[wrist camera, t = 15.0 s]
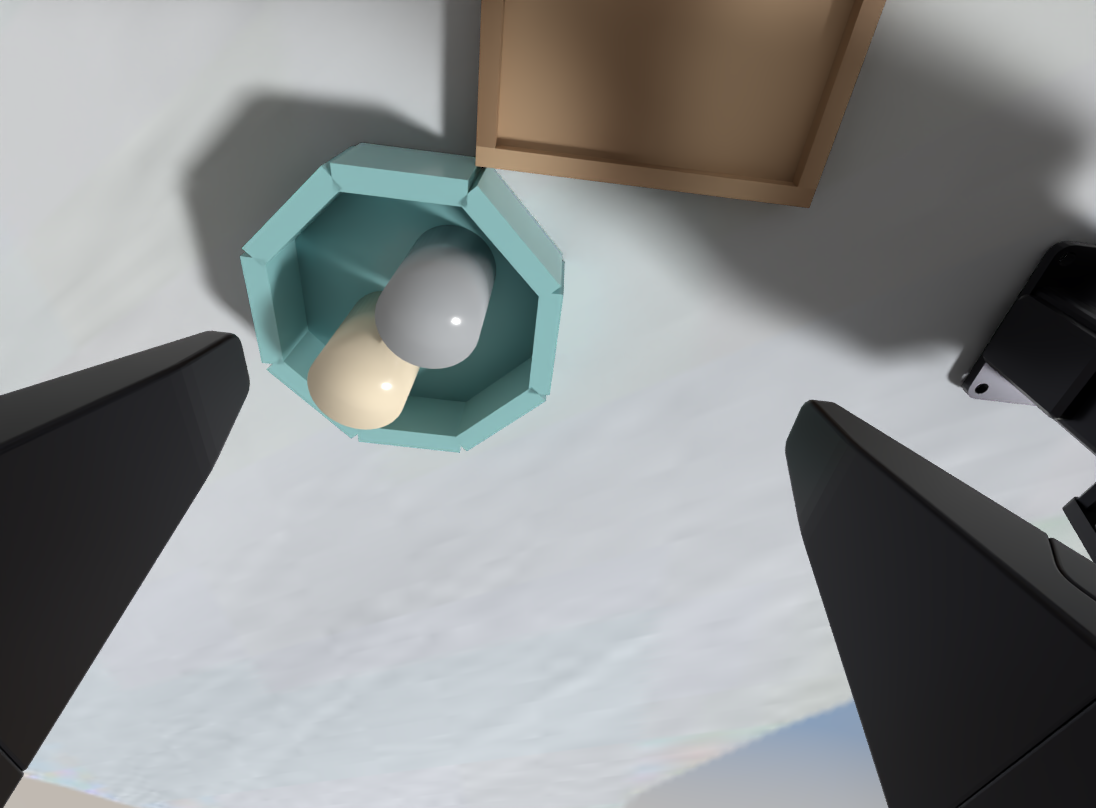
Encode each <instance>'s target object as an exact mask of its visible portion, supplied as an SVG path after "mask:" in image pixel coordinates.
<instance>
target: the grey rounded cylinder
mask: <svg viewBox="0 0 1096 808" xmlns="http://www.w3.org/2000/svg"><path fill="white" fill-rule="evenodd" d="M495 279H496V263H495V259H494V256H493V254H492V251H491V250H490V248H489V246H488V245H487V244H486V242H485V241H484V240H483V239H482V238H481V237H479V236H478V235H477V234H476V233H474V232H472V231H471V230H469V229H466V228H464V227H461V226H456V225H441V226H436V227H433V228H431V229H429V230H427V231H426V232H424V233H423V234H422V235H421V236H420V237H419V238H418V239H417V240H416V242H415V243H414V245H413V246H412V248H411V249H410V251H409V252H408V254H407V255H406V257H405V258H404V260H403V261H402V263H401V264H400V266H399V267H398V269H397V270H396V272H395V273H394V275H393V276H392V278H391V279H390V281H389V282H388V284H387V285H386V287H385V288H384V290H383V291H382V293H381V294H380V296H379V298H378V301H377V303H376V308H375V322H376V326H377V330H378V332H379V335H380V337H381V338H382V340H383V342H384V343H385V344H386V346H387V347H388V348H389V349H390V350H391V351H392V352H393V353H394V354H395V355H396V356H398V357H399V358H401V359H402V360H404V361H406V362H408V363H410V364H412V365H415V366H418V367H422V368H429V369H441V368H447V367H450V366H453V365H456V364H458V363H460V362H461V361H463V360H464V359H466V358H467V357H468V356H469V355H470V354H471V353H472V351H473V350H474V348H475V347H476V345H477V342H478V339H479V336H480V332H481V329H482V325H483V322H484V318H485V315H486V311H487V308H488V304H489V300H490V297H491V293H492V290H493V286H494V283H495Z"/></svg>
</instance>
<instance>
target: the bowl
mask: <svg viewBox="0 0 1096 808" xmlns="http://www.w3.org/2000/svg"><path fill="white" fill-rule="evenodd" d="M475 164H476V157H471V156H463V155H455V154H447V153H440V152H432V151H424V150H416V149H408V148H400V147H392V146H384V145H376V144H369V143H360V144H358V145H357V146H355V147H354V146H351V147H350V148H348V149H346V150H345V151H343V152H342V153H340V154H339V155H337V156H336V157H334V158H332V159H331V160H329V161H328V162H326V163H325V164H323V165H322V166H320V167H319V168H318V169H317V171H316V172H315V173H314V174H313V175H312V176H311V177H310V178H309V179H308V180H307V181H306V182H305V183H304V184H303V185H302V186H301V187H300V188H299V189H298V190H297V191H296V192H295V193H294V194H293V195H292V197H291V198H290V199H289V200H288V201H287V202H286V203H285V204H284V205H283V206H282V207H281V208H280V209H279V210H278V211H277V212H276V213H275V214H274V215H273V216H272V217H271V218H270V219H269V220H268V221H267V222H266V224H265V225H264V226H263V227H262V228H261V229H260V230H259V231H258V232H257V233H256V234H255V235H254V236H253V237H252V238H251V239H250V240H249V241H248V242H247V243H246V244H245V245H244V246H243V247H242V249H243V250H244V251H245V253H243V254H242V255H241V256H240V259H241V264H242V269H243V274H244V279H245V284H246V288H247V293H248V298H249V303H250V308H251V313H252V317H253V322H254V327H255V332H256V337H257V341H258V346H259V351H260V356H261V361H262V363H269V364H271V365H270V366H269V367H268V368H267V370H268V371H269V372H270V373H271V374H272V375H274V376H275V377H276V378H277V379H279V380H280V381H281V382H282V383H284V384H285V385H286V386H287V387H288V388H290V389H291V390H292V391H293V392H295V393H296V394H297V395H298V396H300V397H301V398H302V399H303V400H305V401H306V402H307V403H308V404H309V405H311V406H312V407H313V408H314V409H316V410H317V411H318V412H319V413H321V414H322V415H323V416H324V417H325V418H327V419H328V420H329V421H330V422H332V423H333V424H334V425H335V426H337V427H338V428H339V429H340V430H341V431H343V432H344V433H345V434H346V435H348V436H349V437H350V438H351V439H352V438H353V437H354V436H356V435H357V434H358V439H359V442H367V443H376V444H385V445H394V446H403V447H412V448H422V449H431V450H440V451H449V452H458V453H460V450H461V446H462V447H463V448H464V449H465V450H466V451H468V450H470V449H471V448H473V447H474V446H476V445H478V444H479V443H481V442H482V441H484V440H485V439H487V438H489V437H490V436H492V435H493V434H495V433H496V432H498V431H500V430H501V429H503V428H504V427H506V426H507V425H509V424H511V423H512V422H514V421H515V420H517V419H518V418H520V417H522V416H523V415H525V414H526V413H528V412H529V411H531V410H533V409H534V408H536V407H537V406H539V405H540V404H542V403H543V402H545V401H546V395H550V389H551V381H552V374H553V367H554V359H555V352H556V345H557V338H558V330H559V323H560V316H561V308H562V301H563V291H564V264H565V261H562V253H561V251H560V250H559V249H558V248H557V246H556V245H555V244H554V243H553V241H552V240H551V239H550V238H549V236H548V235H547V234H546V233H545V231H544V230H543V229H542V228H541V226H540V225H539V224H538V223H537V221H536V220H535V219H534V218H533V216H532V215H531V214H530V213H529V211H528V210H527V209H526V208H525V206H524V205H523V204H522V203H521V201H520V200H519V199H518V198H517V196H516V195H515V194H514V193H513V191H512V190H511V189H510V188H509V186H508V185H507V184H506V183H505V181H504V180H503V179H502V178H501V176H500V175H499V174H498V173H497V171H496V170H495V169H494V168H488V167H484V168H483V169H481V167H480V166H475ZM441 225H456V226H461V227H464V228H466V229H469V230H471V231H472V232H474V233H476V234H477V235H478V236H479V237H481V238H482V239H483V240H484V241H485V242H486V244H487V245H488V246H489V248H490V250H491V251H492V254H493V256H494V259H495V263H496V279H495V283H494V286H493V290H492V293H491V297H490V300H489V304H488V308H487V311H486V315H485V318H484V322H483V325H482V329H481V332H480V336H479V339H478V342H477V345H476V347H475V348H474V350H473V351H472V353H471V354H470V355H469V356H468V357H467V358H466V359H464V360H463V361H461V362H460V363H458V364H456V365H453V366H450V367H447V368H441V369H429V368H422V367H420V368H419V371H418V373H417V376H416V378H415V380H414V383H413V385H412V388H411V390H410V393H409V395H408V397H407V400H406V402H405V405H404V407H403V410H402V412H401V413H400V415H399V416H398V417H397V418H396V419H395V420H394V421H393V422H391V423H390V424H388V425H386V426H384V427H381V428H377V429H367V430H364V429H355V428H351V427H347V426H344V425H342V424H340V423H338V422H336V421H334V420H332V419H331V418H329V417H328V416H327V415H325V414H324V413H323V412H322V411H321V410H320V409H319V408H318V407H317V405H316V404H315V403H314V401H313V399H312V397H311V395H310V393H309V390H308V385H307V377H308V372H309V369H310V367H311V365H312V364H313V362H314V361H315V359H316V358H317V357H318V355H319V354H320V353H321V351H322V350H323V348H324V347H325V346H326V344H327V343H328V341H329V340H330V339H331V337H332V336H333V335H334V333H335V332H336V330H337V329H338V328H339V326H340V325H341V323H342V322H343V321H344V319H345V318H346V317H347V315H348V314H349V312H350V311H351V310H352V308H353V307H354V305H355V304H356V303H357V302H358V301H359V300H360V299H361V298H362V297H364V296H365V295H367V294H369V293H372V292H377V291H383V290H384V288H385V287H386V285H387V284H388V282H389V281H390V279H391V278H392V276H393V275H394V273H395V272H396V270H397V269H398V267H399V266H400V264H401V263H402V261H403V260H404V258H405V257H406V255H407V254H408V252H409V251H410V249H411V248H412V246H413V245H414V243H415V242H416V240H417V239H418V238H419V237H420V236H421V235H422V234H423V233H424V232H426V231H427V230H429V229H431V228H433V227H436V226H441Z"/></svg>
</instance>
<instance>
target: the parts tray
mask: <svg viewBox="0 0 1096 808" xmlns="http://www.w3.org/2000/svg"><path fill="white" fill-rule="evenodd" d="M885 2H886V0H481V25H480V53H479V81H478V109H477V136H476V164H475V166H480V167H488V168H496V169H504V170H512V171H520V172H528V173H535V174H543V175H551V176H559V177H567V178H575V179H583V180H591V181H599V182H607V183H615V184H623V185H630V186H638V187H646V188H654V189H662V190H670V191H678V192H686V193H694V194H702V195H710V196H718V197H725V198H733V199H741V200H749V201H757V202H765V203H773V204H781V205H789V206H797V207H805V208H809V207H810V205H811V202H812V199H813V196H814V194H815V191H816V188H817V186H818V183H819V180H820V178H821V175H822V172H823V169H824V167H825V164H826V161H827V159H828V156H829V153H830V151H831V148H832V145H833V142H834V140H835V137H836V134H837V132H838V129H839V126H840V124H841V121H842V118H843V115H844V113H845V110H846V107H847V105H848V102H849V99H850V97H851V94H852V91H853V88H854V86H855V83H856V80H857V78H858V75H859V72H860V70H861V67H862V64H863V61H864V59H865V56H866V53H867V51H868V48H869V45H870V43H871V40H872V37H873V34H874V32H875V29H876V26H877V24H878V21H879V18H880V16H881V13H882V10H883V7H884V5H885Z"/></svg>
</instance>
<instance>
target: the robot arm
mask: <svg viewBox="0 0 1096 808" xmlns="http://www.w3.org/2000/svg"><path fill="white" fill-rule="evenodd" d="M1066 253H1067V256H1066V257H1065V258H1064V259H1063V260H1061V261H1059V260H1060V258H1061V257H1062V256H1063V255H1064V254H1066ZM980 384H982V385H981V386H980V387H978V388H976V387H977V386H978V385H980ZM249 386H250V380H249V374H248V370H247V366H246V361H245V357H244V352H243V348H242V344H241V341H240V339H239V338H238V337H237V336H236V335H235V334H232V333H226V332H217V331H206V332H202V333H199V334H196V335H193V336H189V337H186V338H183V339H180V340H177V341H173V342H170V343H167V344H164V345H161V346H157V347H154V348H151V349H148V350H145V351H141V352H138V353H135V354H132V355H129V356H125V357H122V358H119V359H116V360H113V361H109V362H106V363H103V364H100V365H97V366H93V367H90V368H87V369H84V370H81V371H77V372H74V373H71V374H68V375H64V376H61V377H58V378H55V379H52V380H48V381H45V382H42V383H39V384H36V385H32V386H29V387H26V388H23V389H20V390H16V391H13V392H10V393H7V394H4V395H0V808H3V807H4V806H5V804H6V802H7V801H8V799H9V798H10V796H11V794H12V793H13V791H14V790H15V788H16V786H17V785H18V783H19V781H20V780H21V778H22V777H23V775H24V773H23V771H24V770H26V769H27V768H28V766H29V765H30V763H31V761H32V760H33V758H34V756H35V755H36V753H37V752H38V750H39V748H40V747H41V745H42V744H43V742H44V740H45V739H46V737H47V736H48V734H49V732H50V731H51V729H52V727H53V726H54V724H55V723H56V721H57V719H58V718H59V716H60V715H61V713H62V711H63V710H64V708H65V707H66V705H67V703H68V702H69V700H70V698H71V697H72V695H73V694H74V692H75V690H76V689H77V687H78V686H79V684H80V682H81V681H82V679H83V678H84V676H85V674H86V673H87V671H88V670H89V668H90V666H91V665H92V663H93V661H94V660H95V658H96V657H97V655H98V653H99V652H100V650H101V649H102V647H103V645H104V644H105V642H106V641H107V639H108V637H109V636H110V634H111V632H112V631H113V629H114V628H115V626H116V624H117V623H118V621H119V620H120V618H121V616H122V615H123V613H124V612H125V610H126V608H127V607H128V605H129V603H130V602H131V600H132V599H133V597H134V595H135V594H136V592H137V591H138V589H139V587H140V586H141V584H142V583H143V581H144V579H145V578H146V576H147V575H148V573H149V571H150V570H151V568H152V566H153V565H154V563H155V562H156V560H157V558H158V557H159V555H160V554H161V552H162V550H163V549H164V547H165V546H166V544H167V542H168V541H169V539H170V537H171V536H172V534H173V533H174V531H175V529H176V528H177V526H178V525H179V523H180V521H181V520H182V518H183V517H184V515H185V513H186V512H187V510H188V508H189V507H190V505H191V504H192V502H193V500H194V499H195V497H196V496H197V494H198V492H199V491H200V489H201V488H202V486H203V484H204V483H205V481H206V479H207V478H208V476H209V474H210V472H211V471H212V469H213V467H214V465H215V463H216V461H217V459H218V457H219V455H220V453H221V451H222V448H223V446H224V444H225V442H226V440H227V438H228V435H229V433H230V431H231V429H232V427H233V425H234V423H235V420H236V418H237V416H238V414H239V412H240V410H241V407H242V405H243V403H244V401H245V399H246V397H247V394H248V391H249ZM963 390H964V391H965V392H966V393H967V394H968V395H969V396H970V397H971V398H974V399H982V400H990V401H999V402H1008V403H1016V404H1025V405H1033V406H1037V407H1038V408H1039V409H1041V410H1042V411H1043V412H1044V413H1045V414H1046V415H1048V416H1049V417H1050V418H1052V419H1054V420H1055V421H1056V422H1057V423H1059V424H1060V425H1061V426H1062V427H1063V428H1064V429H1065V430H1067V431H1068V432H1069V433H1070V434H1071V435H1072V436H1073V437H1075V438H1076V439H1077V440H1078V441H1079V442H1080V443H1082V444H1083V445H1084V446H1085V447H1086V448H1087V449H1088V450H1090V451H1091V452H1092V453H1093V454H1094V455H1095V456H1096V245H1095V244H1087V243H1079V242H1071V241H1064V242H1060V243H1057V244H1055V245H1054V246H1053V247H1051V248H1050V249H1049V250H1048V251H1047V253H1046V254H1045V255H1044V257H1043V259H1042V260H1041V262H1040V263H1039V265H1038V266H1037V268H1036V270H1035V271H1034V273H1033V274H1032V276H1031V278H1030V279H1029V281H1028V282H1027V284H1026V285H1025V287H1024V289H1023V290H1022V292H1021V293H1020V295H1019V296H1018V298H1017V300H1016V301H1015V303H1014V304H1013V306H1012V307H1011V309H1010V311H1009V312H1008V314H1007V315H1006V317H1005V318H1004V320H1003V322H1002V323H1001V325H1000V326H999V328H998V329H997V331H996V333H995V334H994V336H993V337H992V339H991V341H990V342H989V344H988V345H987V347H986V348H985V350H984V352H983V353H982V355H981V356H980V358H979V359H978V361H977V363H976V364H975V366H974V367H973V369H972V370H971V372H970V374H969V375H968V377H967V378H966V380H965V381H964V384H963ZM785 454H786V460H787V465H788V470H789V475H790V481H791V486H792V491H793V496H794V501H795V507H796V512H797V517H798V522H799V526H800V531H801V535H802V538H803V541H804V545H805V548H806V551H807V554H808V558H809V561H810V564H811V567H812V570H813V573H814V576H815V579H816V583H817V586H818V589H819V592H820V595H821V598H822V601H823V604H824V608H825V611H826V614H827V617H828V620H829V623H830V626H831V630H832V633H833V636H834V639H835V642H836V645H837V648H838V651H839V655H840V658H841V661H842V664H843V667H844V670H845V673H846V676H847V680H848V683H849V686H850V689H851V692H852V695H853V698H854V701H855V705H856V708H857V711H858V714H859V717H860V720H861V723H862V726H863V730H864V733H865V736H866V739H867V742H868V745H869V748H870V751H871V755H872V758H873V761H874V764H875V767H876V770H877V773H878V777H879V780H880V783H881V786H882V789H883V792H884V795H885V798H886V802H887V805H888V808H1096V482H1095V483H1094V484H1093V485H1092V486H1091V487H1090V488H1089V489H1088V490H1086V491H1085V492H1084V493H1083V494H1082V495H1081V496H1080V497H1074V498H1073V499H1072V500H1071V501H1069V502H1068V503H1067V504H1066V505H1065V506H1064V507H1063V508H1062V509H1063V511H1064V513H1065V514H1066V516H1067V518H1068V520H1069V521H1070V523H1071V525H1072V526H1073V528H1074V530H1075V531H1076V533H1077V535H1078V537H1079V538H1080V540H1081V542H1082V543H1083V545H1084V547H1085V549H1086V550H1087V552H1088V554H1089V555H1090V557H1091V559H1092V561H1093V562H1092V561H1090V560H1089V559H1087V558H1085V557H1084V556H1082V555H1080V554H1079V553H1077V552H1076V551H1074V550H1072V549H1071V548H1069V547H1067V546H1066V545H1064V544H1063V543H1061V542H1059V541H1058V540H1056V539H1054V538H1048V535H1047V534H1046V533H1045V532H1043V531H1041V530H1040V529H1038V528H1036V527H1035V526H1033V525H1032V524H1030V523H1028V522H1027V521H1025V520H1024V519H1022V518H1020V517H1019V516H1017V515H1015V514H1014V513H1012V512H1011V511H1009V510H1007V509H1006V508H1004V507H1002V506H1001V505H999V504H998V503H996V502H994V501H993V500H991V499H990V498H988V497H986V496H985V495H983V494H981V493H980V492H978V491H977V490H975V489H973V488H972V487H970V486H968V485H967V484H965V483H964V482H962V481H960V480H959V479H957V478H956V477H954V476H952V475H951V474H949V473H947V472H946V471H944V470H943V469H941V468H939V467H938V466H936V465H934V464H933V463H931V462H930V461H928V460H926V459H925V458H923V457H922V456H920V455H918V454H917V453H915V452H913V451H912V450H910V449H909V448H907V447H905V446H904V445H902V444H900V443H899V442H897V441H896V440H894V439H892V438H891V437H889V436H888V435H886V434H884V433H883V432H881V431H879V430H878V429H876V428H875V427H873V426H871V425H870V424H868V423H866V422H865V421H863V420H862V419H860V418H858V417H857V416H855V415H853V414H852V413H850V412H849V411H847V410H845V409H844V408H842V407H841V406H839V405H837V404H835V403H833V402H827V401H818V400H809V401H807V402H805V403H804V404H803V406H802V407H801V409H800V412H799V414H798V416H797V418H796V420H795V423H794V425H793V427H792V429H791V431H790V434H789V436H788V438H787V441H786V446H785Z"/></svg>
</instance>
